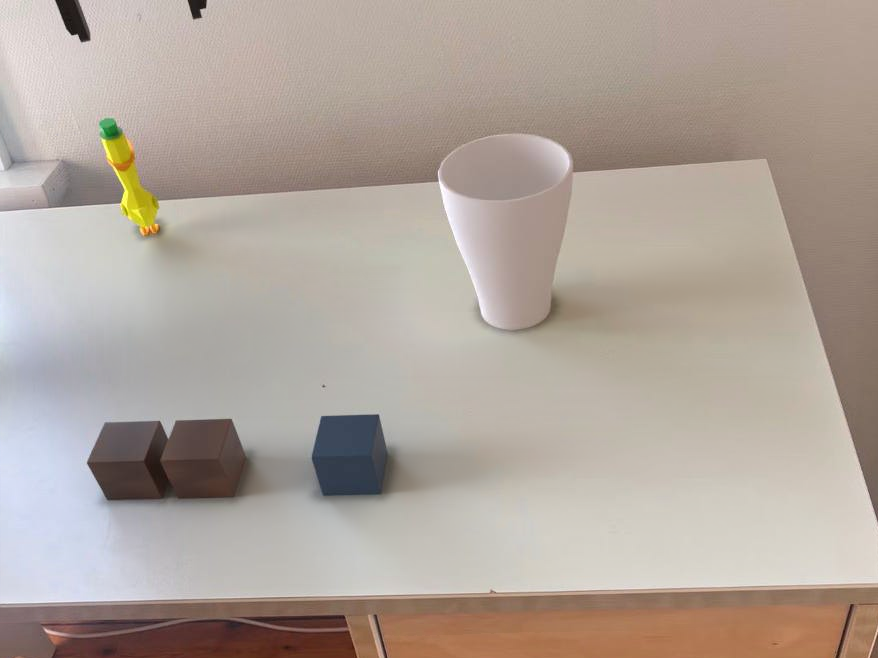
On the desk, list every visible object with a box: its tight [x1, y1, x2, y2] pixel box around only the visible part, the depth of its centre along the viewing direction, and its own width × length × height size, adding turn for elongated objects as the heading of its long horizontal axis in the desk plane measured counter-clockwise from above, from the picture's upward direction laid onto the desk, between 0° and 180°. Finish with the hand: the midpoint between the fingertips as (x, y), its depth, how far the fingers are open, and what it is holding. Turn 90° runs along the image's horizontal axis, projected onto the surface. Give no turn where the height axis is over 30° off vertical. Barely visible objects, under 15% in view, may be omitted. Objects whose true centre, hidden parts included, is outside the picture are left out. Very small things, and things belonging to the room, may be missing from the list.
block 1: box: [86, 420, 170, 501], centre depth 74 cm, size 4×4×4 cm
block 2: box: [160, 418, 247, 500], centre depth 73 cm, size 4×4×4 cm
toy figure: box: [97, 117, 160, 237], centre depth 95 cm, size 7×4×12 cm, turn 17°
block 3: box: [310, 413, 389, 497], centre depth 72 cm, size 4×4×4 cm
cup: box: [437, 133, 574, 331], centre depth 80 cm, size 10×10×14 cm
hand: (141, 26), depth 74 cm, fingers open, 8 cm apart
